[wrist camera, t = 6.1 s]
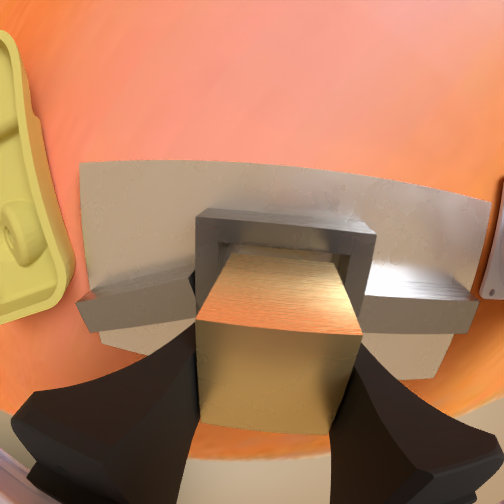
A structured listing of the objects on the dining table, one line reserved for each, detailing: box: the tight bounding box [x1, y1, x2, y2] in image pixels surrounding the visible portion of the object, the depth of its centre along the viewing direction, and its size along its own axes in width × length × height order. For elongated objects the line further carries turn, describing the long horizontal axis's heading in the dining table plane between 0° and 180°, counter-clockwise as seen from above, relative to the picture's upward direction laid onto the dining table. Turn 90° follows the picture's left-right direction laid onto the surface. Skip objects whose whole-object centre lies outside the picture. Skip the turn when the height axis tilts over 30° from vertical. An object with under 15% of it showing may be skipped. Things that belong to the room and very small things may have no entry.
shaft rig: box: [75, 159, 492, 380], centre depth 14 cm, size 23×12×3 cm, turn 86°
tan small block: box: [195, 253, 363, 435], centre depth 10 cm, size 4×4×5 cm
